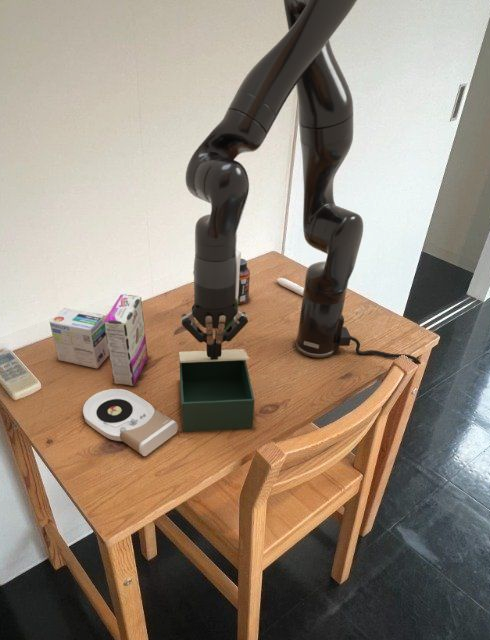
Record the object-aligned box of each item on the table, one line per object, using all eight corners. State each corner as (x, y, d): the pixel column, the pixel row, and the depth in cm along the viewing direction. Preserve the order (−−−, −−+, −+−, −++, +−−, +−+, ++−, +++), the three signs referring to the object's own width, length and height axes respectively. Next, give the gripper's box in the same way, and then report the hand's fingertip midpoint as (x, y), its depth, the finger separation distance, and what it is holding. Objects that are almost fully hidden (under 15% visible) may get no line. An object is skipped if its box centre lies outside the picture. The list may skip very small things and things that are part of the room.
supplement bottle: (248, 305, 139) (251, 266, 131) (226, 305, 139) (228, 266, 132) (247, 294, 143) (250, 256, 136) (226, 294, 143) (227, 256, 136)
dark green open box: (182, 432, 102) (181, 403, 97) (180, 382, 114) (179, 354, 109) (252, 428, 102) (254, 400, 98) (242, 379, 114) (243, 352, 110)
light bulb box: (111, 353, 122) (105, 314, 115) (98, 369, 117) (91, 329, 110) (71, 345, 125) (63, 306, 118) (57, 360, 120) (47, 321, 113)
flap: (179, 363, 101) (179, 361, 101) (179, 353, 108) (179, 351, 108) (249, 359, 102) (249, 357, 102) (243, 350, 109) (243, 349, 109)
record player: (136, 449, 94) (70, 402, 104) (138, 461, 96) (72, 414, 106) (181, 417, 100) (114, 376, 111) (182, 429, 102) (116, 387, 113)
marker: (274, 283, 148) (274, 275, 147) (279, 281, 149) (279, 273, 148) (322, 307, 138) (324, 300, 136) (327, 305, 139) (329, 297, 137)
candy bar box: (128, 355, 121) (120, 293, 111) (148, 357, 121) (142, 295, 110) (112, 384, 113) (102, 320, 102) (134, 387, 112) (126, 322, 102)
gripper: (178, 288, 87) (181, 370, 99) (255, 286, 88) (249, 367, 99) (177, 268, 93) (179, 347, 104) (249, 266, 94) (244, 345, 105)
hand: (213, 357), depth 102 cm, fingers closed
